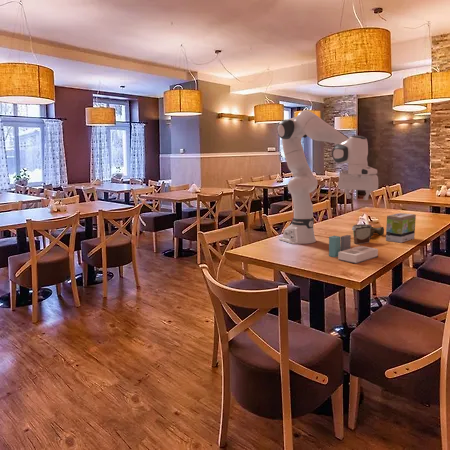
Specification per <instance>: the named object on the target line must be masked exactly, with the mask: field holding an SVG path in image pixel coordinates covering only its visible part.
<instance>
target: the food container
mask: <svg viewBox="0 0 450 450" xmlns="http://www.w3.org/2000/svg"><path fill="white" fill-rule="evenodd" d="M371 226H372V225H371V224H367V223H364V224H362V223H358V224H353V226H352V229H351V230H352V232H353V243H354V244H355V245H362V244H369V243H370V240H371V238H370V230H371Z"/></svg>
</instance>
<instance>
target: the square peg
mask: <svg viewBox="0 0 450 450" xmlns="http://www.w3.org/2000/svg"><path fill="white" fill-rule="evenodd" d="M340 251H341V236H339V235H331V236H329V237H328V257H331V258H338V252H340Z"/></svg>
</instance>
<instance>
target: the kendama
mask: <svg viewBox="0 0 450 450" xmlns="http://www.w3.org/2000/svg"><path fill="white" fill-rule="evenodd" d="M384 233H385V227H384V226H379V227H373V226H372V225H371V230H370V239H371V238H372V237H373V236H374V234H377V235H379V236H381V237H382V236H384Z"/></svg>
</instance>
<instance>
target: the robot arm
mask: <svg viewBox="0 0 450 450" xmlns="http://www.w3.org/2000/svg"><path fill="white" fill-rule="evenodd" d="M276 133H277V135H278V136H279V138H280V139H282V140H281V142H282V150H283V154H284V157H285V162H286V165H287V168H288V170H289V171H290V172H291V173H292V175H293V177H292V178H291V179H289V181H288V182H287V189H288V191H289V193H290V195H291V200H292V203H293V204H292V205H293V218H291V219H290V220H289V221H290V222H291V224H290V225H288V226H287V227H286V228H285V229H283V234H282V236H281V237H279V238H278V240H279V241H283V242H285V243H289V244H292V245H299V244H302V245H303V244H304V245H306V244H313V243H316V241H317V240H316V236H315V230H314V224H315V222H314V221H315V219H314V205H313V203H312V199H311V196H310V193H312V192H314V191H315V190H316V189H317V187H318V184H319V183H318V179H317V177H315V175H314V173H313V171H312V169H311V168H310V166H309V164H308V160H307V158H306V155H305V151H304V148H303V144H302V138H303V139H306V138H307V137H308V138H309V139H311V140H313V141H316V142H326V143H332V144H334V147H333V148H332V150H331V156H332V159H333V161H334V162H335V163H337V164H347V165H348V166H347V169H345V170H344V169H343V170H341V171H340V172H339V173H338V175H339V178H338V183H337V184H338V185H337V187H338V189H339V190H344V193H345V195H346V200H347V199H349V200H350V199H352V194H350V190H351V191H365V193H366V194H365V195H364V196H363V201H368V200H369V196H370V195H371V193H372V191H373V192H374V191H377V190H378V189H379V176H378V169H377V168H374V167H371V166H369V163H368V155H369V145H368V144H369V143H368V139H367V137H365V136H363V135H351V136H347V135H345V134H344V133H343V132H341V131H339V130H338V129H336V128H335V127H333V125H330V124H329V123H327V122H326V121H325V120H324V119H322V118H320V116H318V115H317V114H315V113H314V112H312V111H311V110H307V109H304V110H301V111H300V112H299V113H298V114H297V116H294V117H292V118H287V119H284V120H281V121H279V123H278V124H277V126H276Z"/></svg>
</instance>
